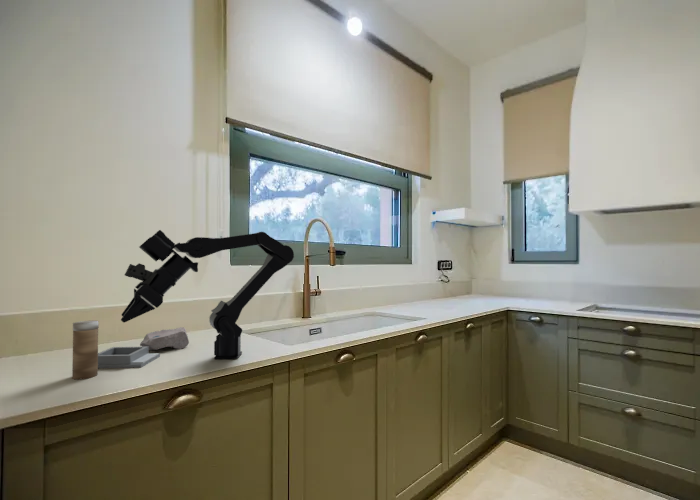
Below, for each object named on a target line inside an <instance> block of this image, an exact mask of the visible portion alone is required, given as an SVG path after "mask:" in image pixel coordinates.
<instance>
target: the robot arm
mask: <svg viewBox="0 0 700 500" xmlns="http://www.w3.org/2000/svg"><path fill="white" fill-rule="evenodd" d="M253 246H257V247H259V248H260V249H261V251H263V252H264V253H265V254H267V255H266V257H265V259H264V261H263V264H262V265H261V267H260V268H259V269H258V270H257V271H256V272H255V273H254V274H253V275H252V276H251V278H250V279H249V280H248V281H247V282H246V283H245V284H244V285H243V286H242V287H241V288H240V289H239V290H238V291H237V292H236V294H235V295H233V297H232V298H231V299H229V300H228V301H226V302H225V301H224V300H220V301H219V302H218V304H217V305H216V306H215V307H214V308H213V309H211V314H210V315H209V317H208V318H209V321H208V322H209V324H210V326H211V327H212V328H213V329H214V330H216V333H217V335H216V336H215V340H214V341H213V343H214V348H213V349H214V350H213V351H214V353H213V355H214V357H213V359H214V360H228V359H229V360H231V359H232V360H233V359H239V357H240V356H241V355H242V353H243V351H241V350H242V349H241V347H242V346H241V342H242V341H241V339H242V338H241V336H242V334H243V333H242V332H243V328H241V326H239V325H238V324H237V323H236V322H237V321H239V318H240V315H241V314H242V311H243V309H244V307H245V306H246V305H247V304H248V303H249V302H250V301H251V300H252V299H253V298H254V297H255V295H256V294H258V292H259V291H260V290H261V289H262V288H263V287H264V285H265V284H266V283H268V281H269V280H270V279H271V277H272V276H274V274H275V273H277V272H278V271H280V270H282V269H283V268H285V267H287V265H289V264H290V263H291V262H292V261H293V260H294V258H295V254H294V250H293V248H292V247H291V246H289V245H284V244H283V243H282V242H280V241H279V240H276V239H275V238H274V237H271V236H270V235H269V234H267V233H266V232H264V231H258V232H255V233H248V234H239V235H234V236H227V237H206V236H205V237H202V236H201V237H200V236H198V237H193V238H192V237H191V238H189V239H188V240H187V241H186V242H182V243H181V242H177V243H176V244H175V243H174V241H172V240H171V238H169V237H168V236H167V235H166V234H165V232H163V231H162V230H161V229H158V231H156V232H155V233H154V234H153V235H152V236H150V237H149V238H147V239H146V240H145V241H144V242H143V243H142V244H140V245H139V246H138V248H139V249H140V250H141V251H142V252H144V253H145V254H146V255H148V256H149V257H150V258H151V260H152V259H153V261H155V262H157V261H161V262H164V261H165V260H166V259H167V258H168V257H170V258H168V259H167V260H166V261H165V262H164V263H163V264H162V265H161V266H159V267H158V268H155V269H154V270H153V271H150V270H148V269H147V268H146V265H145V264H143V263H141V262H140V263H137V264H135V265H134V264H132V263H130V264H129V266H128V267H127V269H126V271H125V273H124V276H125V277H128V278H133V279H136V280H139V282H138V283H137V284H136V286H134V288H133V298H132V299H131V300H130V302H129V303H128V304H127V306H126V307H125V308H124V311H123V312H122V313H121V317H122V318H121V319H120V321H121V322H122V323H123V324H124V323H127V322H129V321H131V320H133V319H135V318H138V317H140V316H142V315H144V314H146V313H148V312H150V311H154V310H156V309H157V308H160V306H161V305H162V304H163V303H164V296H165V294H166V293H167V292H168V291H169V290H170V289H172V287H174V286H176V284H177V282H178V281H179V280H180V279H182V277H184V276H185V274H186V273H188V272H189V270H191V271H193V272H194V273H198V271H199V268H198V266H199V262H197V261H196V262H193V261H192V260H191V259H201V258H204V257H207V256H209V255H213V254H215V253H216V254H217V253H219V252H222V251H227V250H233V249H240V248H246V247H253ZM178 253H182V254H186V255H184V256H181V255H180V254H178ZM171 255H172V256H171ZM190 258H191V259H190Z"/></svg>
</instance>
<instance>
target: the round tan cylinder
mask: <svg viewBox="0 0 700 500" xmlns="http://www.w3.org/2000/svg"><path fill="white" fill-rule="evenodd" d="M99 325H100V323H99V320H82V321H75V322H73V323H72V371H71V372H72V373H71V374H72V375H71V378H72V379H73V380H86V379H87V380H88V379H91V378H93V377H94V378H95V377H96V376H98V373H99V372H98V371H99V368H98V353H99Z"/></svg>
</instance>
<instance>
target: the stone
mask: <svg viewBox="0 0 700 500" xmlns="http://www.w3.org/2000/svg"><path fill="white" fill-rule="evenodd" d="M142 339H143V340H141V342H140V344H139V347H146V346H149V351H153V350H154V351H156V350H161V349H163V348H166V347H168V348H173V349H179V350H180V349H185V348H186V347H187V346H188V345H189V344H190V342H189V336H188V334H187V329H186V328H185V326H184V327H183V326H180V327H176V328H171V329H170V328H169V329H167V328H166V329H162V330H161V329H160V330H156V331H155V330H154V331H153V332H152V331H151V332H148V333H146V334H145V336H144V337H143V338H142Z"/></svg>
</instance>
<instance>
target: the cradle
mask: <svg viewBox="0 0 700 500" xmlns="http://www.w3.org/2000/svg"><path fill="white" fill-rule="evenodd" d="M149 351H150V350H149V346H146V347H142V346H113V347H110V348H107V349H105V350H102V351H100V352H98V369H118V368H119V369H121V368H122V369H124V368H127V369H128V368H129V369H130V368H132V369H133V367H134V368H143V367H145V366H146V365H148V364H149V363H151V362H153V361H154V360H157V359H158V358H159V357H161V353H157V352H156V353H154V352H153V353H150V352H149Z"/></svg>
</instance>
